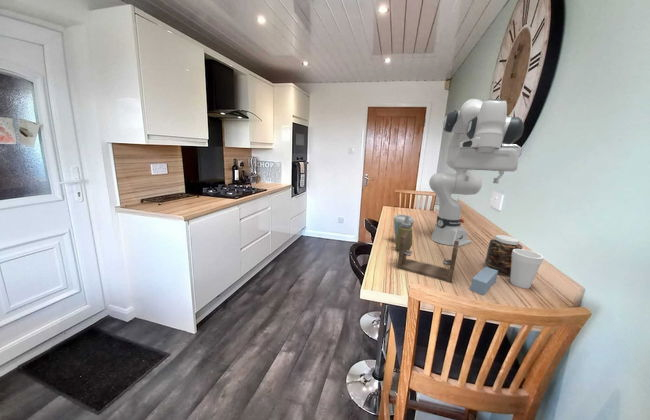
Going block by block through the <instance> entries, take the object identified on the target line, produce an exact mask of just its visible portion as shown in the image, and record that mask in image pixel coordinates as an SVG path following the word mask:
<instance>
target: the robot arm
mask: <svg viewBox="0 0 650 420" xmlns="http://www.w3.org/2000/svg"><path fill="white" fill-rule="evenodd" d="M442 121H443V122H442V127H443V130H444V132H447V133H453V134H452V135H451V138H450V141H449V144H448V147H447V156H446V165H447V167H449V168H451V169H452V170H454V171H455V172H456V173H449V172H439V173H434V174H433V175H432V176H431V177H430V179H429V182H428V184H429V185H428V186H429V188H430V189H431V191H433V192H434V193H435V195H436V197H437V198H438V202H439V204H438V205H439V208H438V213H437V214H438V215H437V217H436V223H435V224H434V225H435V226H434V229H433V233H432V234H431V235H430V236H431V240H432V241H433V242H435V243H438V244H441V245H445V246H446V245H447V246H451V247H452V246H454V241H458V242H459V245H458V248H459V247H462V246H465V245H469V244H471V243H472V241H471V239H468V232H467V230H466V229H465V228H464V227H463V226H462V224H464V223H465V221H466V220H465V219H462V218H461V214H462V213H461V212H462V204H461V203H460V202H459V201H458V200H456V199H455V198H452V194H453V195H462V196H469V195H470V196H471V195H477V194H478V193H479V192H480V191H481V189H482V186H483V183H482V180H481V178H480V177H479V176H477V175H476V174H475V173H474V172H473V171H490V172H491V171H494V172H498V176H496V177H493V182H492V183H493V184H499V181H500V179H502V177H503V175H504V174H505V172H515V171H517V170H518V164H519V157H520V156H521V155H522V150H523V149H522V147H521V146H520V145H518V144H515V143H516V141H518V140H519V139H520V138H521V137H522V136H523V133H524V129H525V124H524V122H523V120H522V119H521V118H520V117H519V116H510V115H508V102H507V101H506V100H505V99H498V98H493V99H487V100H484V101H482V100H480V99H478V98H470V99H468V100H466V101H465V102H464V103H463V104H462V105H461V107H460V110H457V109H454V110H453V111H451V112H448V113H447V114H446V115H445V117H444V119H443V120H442Z"/></svg>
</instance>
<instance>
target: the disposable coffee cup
mask: <svg viewBox="0 0 650 420" xmlns="http://www.w3.org/2000/svg"><path fill="white" fill-rule="evenodd" d="M406 216H408V217H409V223H410V224H411V228H412V229H413V225H414V222H415V220H414V218H413V217H412V216H409V215H407V214H396V215H394V217H393V224H394V225H393V228H394V241H395V242H396V238H397V234H398V230H399V227H401V223H402V222H404V220H405V218H406Z"/></svg>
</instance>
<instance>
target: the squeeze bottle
mask: <svg viewBox="0 0 650 420" xmlns="http://www.w3.org/2000/svg"><path fill="white" fill-rule="evenodd" d="M408 216H409V215H408ZM408 216H406V218H405V220H404V222H402V223H401V227H399V230H398V234H397V238H396V241H395V248H396V250H397V251H398V252H399V248H400V240H401V236H402V235H403V234H404V233H405V232H406V231H407V232H410V234H409V241H408V248H407V250H409V251H411V248H412V246H413V227H412V228H411V224H410V223H409V217H408Z"/></svg>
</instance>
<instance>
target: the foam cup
mask: <svg viewBox="0 0 650 420" xmlns="http://www.w3.org/2000/svg"><path fill="white" fill-rule="evenodd" d="M511 256H512V261H511V275H510V276H509V282H510V283H511V284H512V285H513V286H516V287H518V288H522V289H530V288H531V286H532V284H533V281H534V279H535V278H536V275H537V274H538V271H539V269H540V267H541V266H542V264H543V260H544V255H542V254H541V253H538V252H536V251H531V250H528V249H523V248H522V249H513V250H512V255H511Z"/></svg>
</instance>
